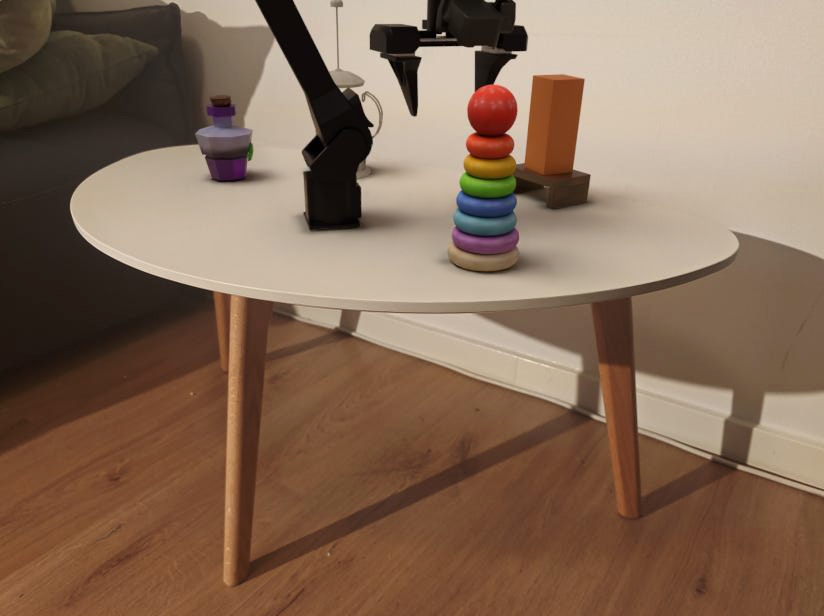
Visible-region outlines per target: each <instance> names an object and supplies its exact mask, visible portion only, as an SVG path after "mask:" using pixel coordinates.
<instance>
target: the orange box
mask: <svg viewBox="0 0 824 616" xmlns="http://www.w3.org/2000/svg"><path fill="white" fill-rule="evenodd" d="M585 81H586V80H585V78H583V77H578V76H572V75H568V74H564V73H561V74H560V73H559V74H535V75H532V83H531V92H530V93H531V94H530V103H529V113H528V124H527V125H528V126H527V134H526V144H525V154H524V163H525V164H524V167H525V168H527V169H530V170H532V171H534V172H537V173H539V174H542V175H552V174H561V173H571V172H573V170H574V165H575V158H576V157H575V156H576V149H577V143H578V141H577V140H578V135H579V134H578V133H579V128H580V127H579V125H580V119H581V111H582V103H583V96H584V95H583V94H584V88H585Z"/></svg>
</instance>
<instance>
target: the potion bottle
mask: <svg viewBox="0 0 824 616" xmlns="http://www.w3.org/2000/svg"><path fill="white" fill-rule="evenodd" d="M209 101H210V103H209V104H207V105H206V107H205V108H206V114H207V116H210V117H212V123H213V125H210V126H206V127H202V128H199V129H198V130H197V131H196V132H195V133H194V135H195V138H196V141H197V144H198V146H199V150H200V152H201V155H202V156H204V159H205V163H206V165H207V168H208V171H209V174H210V177H211V179H210V180H212V181H215V182H218V183H236V182H239V181H240V182H241V181H244V180H246V179H247V177H248V175H247V169H248V162H251V161H252V159H253V157H254V144H253V143H252V140H253V139H252V138H253V131H254V130H253V129H250V128H248V127H243V126H239V125H236V124H234V118H233V117H235V116H237V114H238V108H237V107H238V106H237V104H235V103H232V96H231V95H227V94H216V95H213V96H209Z"/></svg>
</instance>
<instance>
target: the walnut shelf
mask: <svg viewBox="0 0 824 616" xmlns="http://www.w3.org/2000/svg"><path fill="white" fill-rule="evenodd" d="M524 164H525V162H522V163H516V169H515V171H514V173H513V174H512V175H513V176H514V177H515V179H516V187H515V190H514V191H513V193H514V194H519V193H524V192H529V191H535V190H540V189H541V190H542V189H544V188H545V187H546V188H548V190H547V197H546V198H547V199H546V208H548V209H550V210H555V209H560V208H566V207H570V206H575V205H579V204H585V203H588V199H589V198H588V197H589V191H590V185H591V184H590V183H591V176H592V175H591V174H590V173H587V172H584V171H580V170H577V169H573V172H571V173H561V174H552V175H542V174H539V173H537V172H534V171H532V170H530V169H527V168H525V167H524Z"/></svg>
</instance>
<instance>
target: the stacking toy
mask: <svg viewBox="0 0 824 616" xmlns="http://www.w3.org/2000/svg"><path fill="white" fill-rule="evenodd" d="M466 109H467V110H466V114H467V119H468V122H469V125H470V126H471V128H472V129H473V130H474V131H475V132H473V133H471V134H469V135H468V137H467V138H466V141H465V148H466V150H467V152H468V153H469V154H467V155H466V156H465V158H464V160H463V169H464V172H462V174H461V176H460V178H459V187H460V189H461V190H460V191H459V192H458V193H457V195H456V199H455V201H456V206H457V208H456V209H455V211H454V212H453V216H452V220H453V224H454V227H453V228H452V231H451V240H452V242H451V243H450V244H449V246H448V248H447V256H448V259H449V260H450V261H451V262H452V263H453V264H454V265H456V266H457V267H459V268H462V269H466V270H470V271H476V272H497V271H502V270H506V269H509V268H511V267H513V266H514V265H515V264H516V263H517V262H518V260H519V257H520V250H519V247H518V245H519V241H520V232H519V230H518V229H517V228H516V226H517V223H518V216H517V214H516V212H515V209H516V208H517V204H518V199H517V197H516V195H515V193H513V191H514V190H515V187H516V179H515V177H514V176H513V175H512V174H513V173H514V171H515V169H516V164H517V161H516V159H515V157H513V156H512V155H511V154H512V152H513V151H514V150H515V140H514V138H513V137H512V136H511V135H510V134H508V133H507V132H509V131H510V129H512V127H513V125H514V124H515V122H516V120H517V117H518V102H517V99H516V98H515V96H514V94H513V92H511V90H509V89H508V88H507V87H505V86H503V85H500V84H494V85H486V86H483V87H481V88H479V89H478V90H477V91H476V92H475V91H474V93H472V95H471V97H470V99H469V100H468V103H467V107H466Z"/></svg>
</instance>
